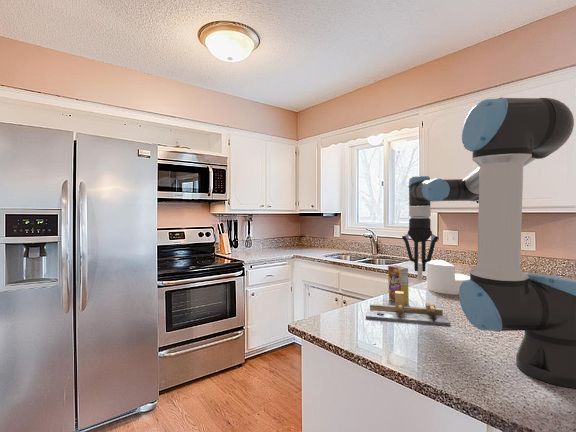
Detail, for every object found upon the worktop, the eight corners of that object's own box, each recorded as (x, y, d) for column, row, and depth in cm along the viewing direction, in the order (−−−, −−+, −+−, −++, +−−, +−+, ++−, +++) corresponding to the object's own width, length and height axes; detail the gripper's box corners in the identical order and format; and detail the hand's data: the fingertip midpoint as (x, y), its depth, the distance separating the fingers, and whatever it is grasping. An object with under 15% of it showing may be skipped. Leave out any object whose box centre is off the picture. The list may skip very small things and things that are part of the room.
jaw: (404, 317, 118) (404, 297, 118) (395, 317, 119) (395, 296, 119) (403, 310, 127) (403, 291, 127) (395, 309, 128) (395, 290, 128)
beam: (445, 322, 114) (445, 309, 114) (369, 316, 122) (368, 304, 122) (441, 314, 123) (441, 302, 123) (370, 309, 131) (370, 298, 131)
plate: (450, 325, 111) (450, 322, 111) (365, 318, 119) (365, 315, 119) (446, 318, 119) (446, 315, 119) (367, 312, 127) (367, 309, 127)
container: (478, 295, 151) (478, 266, 151) (432, 293, 154) (432, 265, 154) (463, 285, 171) (463, 260, 170) (422, 284, 174) (422, 259, 174)
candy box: (387, 299, 145) (387, 265, 145) (396, 299, 146) (395, 264, 146) (400, 305, 136) (400, 268, 136) (409, 304, 137) (408, 268, 137)
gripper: (437, 217, 125) (437, 278, 125) (401, 217, 129) (401, 276, 129) (440, 217, 118) (440, 283, 118) (401, 217, 122) (402, 281, 122)
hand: (419, 279), depth 124 cm, fingers closed
